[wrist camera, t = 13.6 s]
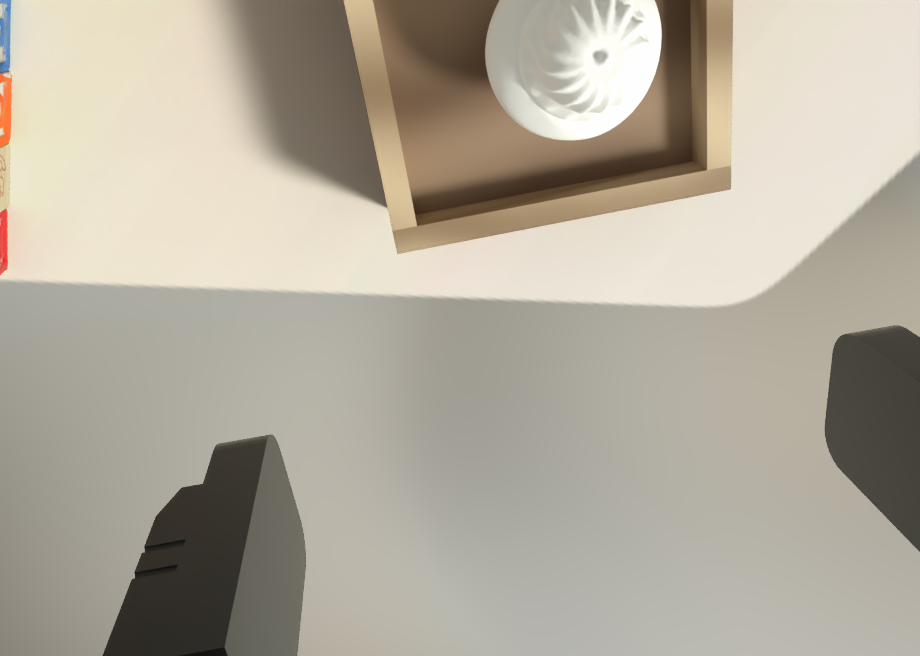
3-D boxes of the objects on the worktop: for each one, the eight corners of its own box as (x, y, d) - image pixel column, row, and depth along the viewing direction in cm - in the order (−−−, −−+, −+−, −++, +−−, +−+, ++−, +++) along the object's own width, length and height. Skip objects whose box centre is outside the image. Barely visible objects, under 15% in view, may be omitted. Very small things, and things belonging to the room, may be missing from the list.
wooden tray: (321, -128, 29) (311, -151, 23) (662, -187, 30) (735, -225, 24) (391, 207, 36) (397, 254, 30) (671, 153, 36) (730, 189, 30)
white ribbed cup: (441, 0, 27) (472, 9, 21) (591, -82, 27) (669, -98, 20) (508, 150, 30) (554, 197, 24) (645, 78, 29) (728, 107, 23)
